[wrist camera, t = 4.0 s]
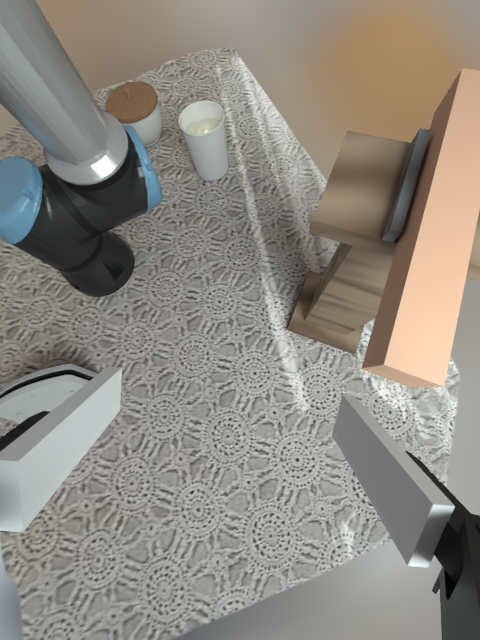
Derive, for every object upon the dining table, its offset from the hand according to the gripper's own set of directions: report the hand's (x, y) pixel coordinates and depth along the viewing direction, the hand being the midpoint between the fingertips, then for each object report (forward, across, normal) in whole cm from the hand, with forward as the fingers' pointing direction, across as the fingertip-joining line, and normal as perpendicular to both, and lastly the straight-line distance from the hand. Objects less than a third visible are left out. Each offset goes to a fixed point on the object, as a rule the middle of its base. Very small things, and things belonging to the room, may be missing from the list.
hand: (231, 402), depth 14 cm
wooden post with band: (+34, -19, -2) cm, 39 cm away
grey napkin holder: (+32, +32, +23) cm, 50 cm away
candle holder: (+55, +10, -31) cm, 64 cm away
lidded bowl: (+63, +30, -39) cm, 80 cm away
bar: (+6, -13, -13) cm, 19 cm away
